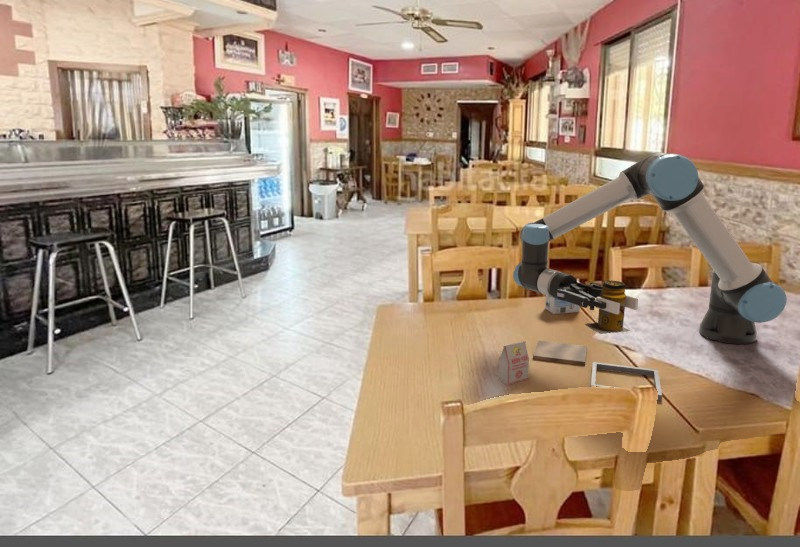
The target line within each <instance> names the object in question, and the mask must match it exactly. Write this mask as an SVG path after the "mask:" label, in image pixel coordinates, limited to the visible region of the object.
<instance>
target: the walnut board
mask: <svg viewBox="0 0 800 547" xmlns="http://www.w3.org/2000/svg"><path fill="white" fill-rule="evenodd" d="M587 351H588V346H587V345H582V344H581V345H580V344H572V343H565V342H564V343H563V342H555V341H544V340H538V342H537V344H536V346H535V350H534V352H533V355H532V359H533V360H540V361H541V360H542V361H547V362H555V363H557V362H558V363H565V364H571V365H572V364H573V365H578V366H579V365H580V366H586V360H587V353H588V352H587Z"/></svg>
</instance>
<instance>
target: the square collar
mask: <svg viewBox="0 0 800 547" xmlns="http://www.w3.org/2000/svg"><path fill="white" fill-rule="evenodd" d="M591 368H592V370H591V379H590V387H591V386H596V387H612V386H609V385H603V384H596V377H597V370H601V371H602V370H603V371H610V372H618V373H624V374H634V375H641V376H649V377H653V383H654V384H653V385H654V388H655V387H656V389H657V391H658V402H662V401H663V392H662V387H661V386H662V385H661V381H660V374H659V369H652V368H647V367H646V368H645V367H638V366H629V365H622V364H620V365H619V364H613V363H605V362H597V361H596V362H595V361H593V362H592V367H591ZM613 387H614V388H619V387H617V386H613Z"/></svg>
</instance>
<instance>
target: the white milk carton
mask: <svg viewBox="0 0 800 547" xmlns="http://www.w3.org/2000/svg"><path fill="white" fill-rule="evenodd" d="M529 367H530V357H529V353H528V349H527V344H526V341H525V340H524V341H518V342H516V343H511V344H507V345H503V348H502V351H501V354H500V356H499V358H498V381H500V382H502V383H503V384H505V385H507V386H509V385H514V384H516V383H519V382H520V383H521V382H523V381H524V382H525V381H527V380H529Z"/></svg>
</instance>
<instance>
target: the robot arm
mask: <svg viewBox="0 0 800 547" xmlns="http://www.w3.org/2000/svg"><path fill="white" fill-rule="evenodd" d="M705 187H706V186H705V185H704V183H703V182H702V181H701V179H700V178H699V172H698V168H697V166H696V165H695V164H694V162H693V161H692V160H691V159H689V158H688V157H686V156H684V155H682V154H680V153H679V154H677V153H666V152H656V153H652V154H649V155H647V156H645V157H644V158H642V159H641V160H639V161H637V162H635V163H633V164H632V165H630V166H629V167H627V168H626V169H623V170H622V171H620V172H619V174H618V177H616V178H613V179H612V180H609V182H607V183H604V184H603V185H601V186H599V187H597V188H596V189H594V190H592V191H590V192H588V193H586V194H584V195H582V196H580V197H578V198H577V199H575V200H573V201H571V202H569V203H567V204H566V205H564V206H562V207H560V208H559V209H557V210H555V211H553V212H551V213H549V214H546V215H545V216H543V217H542V218H539V219H538V220H536V221H534V222H528V223H527V224H525V225H524V226H523V227H522V228H521V230H520V233H519V236H520V237H519V238H520V239H519V240H520V242H521V262H519V263H518V264H517V265H516V266H515V267H514V270H513V272H512V278H513V281H514V283H515V284H516V285H518V286H520V287H522V288H524V289H525V290H528V291H533V292H536V293H539V294H542V295H545V296H546V295H548V297H554V298H556V299H559V300H562V301H567V302H570V303H573V304H576V305H578V306H580V308H581V307H582V308H585V309H587V308H588V307H589V310H590V311H594V310H595V308H596V309H598V310H599V309H602V310H605V311H608V312H611V313H614V314H619V310H620V303H617V302H614V301H610V300H607V299H604V298H601V297H600V294H601V292H602V288H603V285H601V284H597V283H594V282H590V283H589V284H585V283H583V282H580V281H578V280H577V279H576V277H575V276H574V275H572V274H569V273H566V272H562V271H559V270H555V269H552V268H548V264H549V263H548V260H549V259H548V257H549V245H550V244H549V242H551V241H553V240H555V239H557V238H559V237H560V236H563V235H565V234H566V233H568V232H570V231H571V230H574V229H576V228H578V227H580V226H582V225H584V224H585V223H587V222H590V221H592V220H593V219H595V218H597V217H600V216H601V215H603V214H605V213H607V212H608V211H611V210H612V209H614V208H617V207H619V206H620V205H622V204H624V203H626V202H628V201H630V200H633V201H634V200H635V201H637V200H640V199H641V198H644V197H646V196H650V195H651V196H652V197H653V199H654V200H655V201H656V203H657V204H658V205H659V206H660V208H661V209H662V211H663V212H667V213H671V214H673V215H674V217H675V219H676V220H677V222H678V223H679V224H680V226H681V227H682V229H684V231H685V233H686V234H687V235H688V237H689V238H690V239H691V241H692V242H693V243H694V245H695V247H696V248H697V249H698V250H699V252H700V253H701V255H702V256H703V258H704V259H705V260H706V261H707V263H708V264H709V266H710V267H711V268H712V270H713V271H712V273H711V274H712V279H711V286H710V292H709V293H710V296H709V304H708V308H707V311H706V313H705V314H704V316H703V318H702V320H701V322H700V324H699V332H698V333H699V334H700V335H701V336H703V337H705V338H708V339H709V340H712V341H716V342H720V343H726V344H734V345H735V344H736V345H747V344H751V343H755V342H756V340H757V334H758V332H757V329H756V323H762V324H763V323H766V322H767V323H768V322H771V321H772V320H775V319H776V318H778V317H779V316H780V315H781V314H782V313H783V312H784V310H785V307H786V305H787V302H788V298H787V294H786V292H785V290H784V289H783V287H781V286H780V285H779V284H777V283H776V282H774V281H773V280H772V279H771V278H770V277H769V275H768V274H767V272H766V271H765V269H764V268H763V267H762V265H761V264H759V263H755V262H751V260H750V259H749V257H748V256H747V254H746V253H745V252H744V251H743V249H742V248H741V247H740V245H739V244H738V242H737V241H736V239H735V238H734V237H733V235H732V234H731V232H730V231H729V230H728V228H727V227H726V226H725V224H724V223H723V222H722V221H723V220H721V219H720V217H719V216H718V214H717V213H716V212H715V210H714V208H713V207H712V206H711V204H710V202H709V201H708V200H707V198H706V197H705V196H704V195H703V194H704V192H705ZM577 281H578V282H577ZM638 305H639V299H638V298H635V297H633V296H629V295H626V301H625V308H627V309H632V310H635V311H637V310H638Z"/></svg>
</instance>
